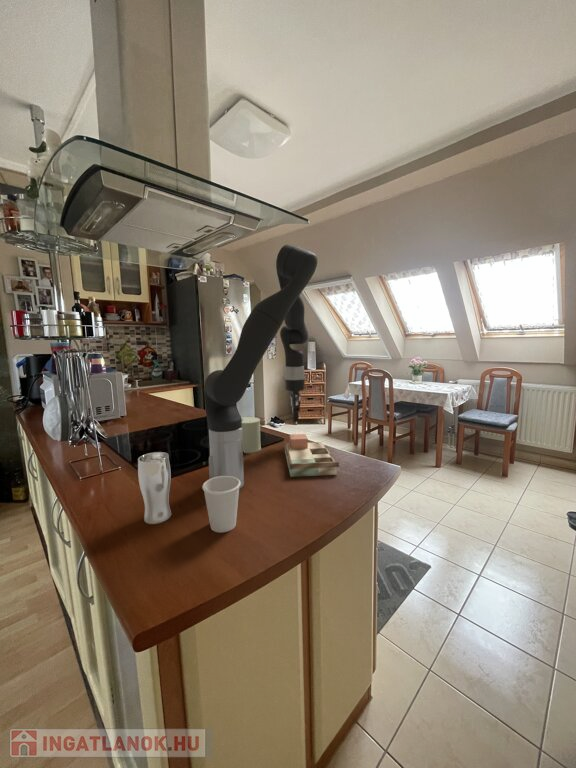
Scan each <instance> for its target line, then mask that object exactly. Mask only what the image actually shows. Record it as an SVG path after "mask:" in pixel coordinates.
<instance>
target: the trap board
mask: <svg viewBox="0 0 576 768" xmlns="http://www.w3.org/2000/svg"><path fill="white" fill-rule="evenodd" d="M283 441H284V442H283V443H284V453H285V458H286V464H287V467H288V472H289V476H290V478H293V477H294V478H295V477H296V478H297V477H314V476H332V475H333V476H334V475H335V476H336V475H337V474H338V468H339V467H340V464H339V463H340V461H339V460H338V461H336V460H335V458H334V457H333V456H331V455H332V454H331V452H330V450H329V449H328V448H327V447H326V446H325V445H324V443H323V441H321V442H320V441H319V442H318V441H317V442H308V448H299V449H291V446H290V442H289V443H288V442H287V439H284V440H283ZM317 443H318V444H317Z"/></svg>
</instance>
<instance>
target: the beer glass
mask: <svg viewBox="0 0 576 768" xmlns="http://www.w3.org/2000/svg"><path fill="white" fill-rule="evenodd" d="M169 458H170V457H169V453H167V452H162V451H157V452H156V451H154V452H149V453H145V454H143V455H141V456H139V457H138V458H137V475H138V483H139V489H140V492H141V496H142V498H143V502H144V515H143V520H144V521H143V522H145V523H146V524H149V525H157V524H162V523H165V522H167V520H169V519H170V518H171V516H172V510H171V507H170V502H169V499H170V497H169V495H170V490H171V480H172V479H171V477H172V476H171V475H172V473H171V464H170V459H169Z"/></svg>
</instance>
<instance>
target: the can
mask: <svg viewBox="0 0 576 768" xmlns="http://www.w3.org/2000/svg"><path fill="white" fill-rule="evenodd" d="M241 419H242V441H243V452H244V453H243V454H253V453H256V452H259V451H261V450H262V447H261V419H260V418H259V417H256V416H255V417H253V416H246V417H244V416H243V417H241Z"/></svg>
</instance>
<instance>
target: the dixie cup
mask: <svg viewBox="0 0 576 768" xmlns="http://www.w3.org/2000/svg"><path fill="white" fill-rule="evenodd" d="M240 484H241V482H240V480H239V479H237V478H235V477H232V476H219V477H214V478H211V479H210V478H209V479H207V480H206V481H204V483H203V484H202V487H201V489H202V490H203V492H204V499H205V504H206V509H207V515H208V519H209V525H210V528H211V529H210V530H212V531H213V532H215V533H221V534H222V533H227V532H230V531H232V530H233V529H235V527H236V525H237V517H238V506H239V505H238V504H239V495H240V493H239V492H240V489H239V486H240Z"/></svg>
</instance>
